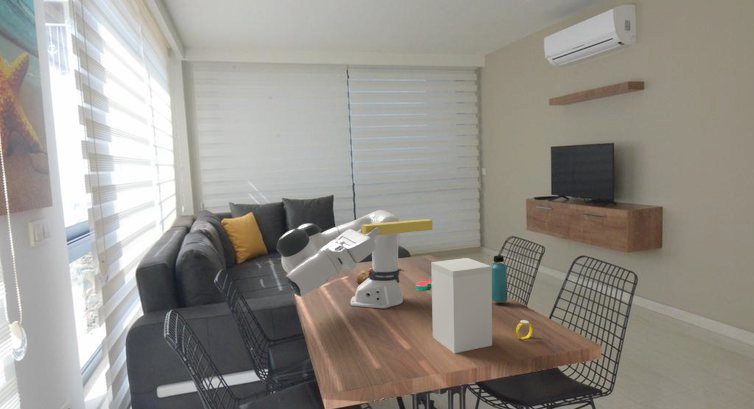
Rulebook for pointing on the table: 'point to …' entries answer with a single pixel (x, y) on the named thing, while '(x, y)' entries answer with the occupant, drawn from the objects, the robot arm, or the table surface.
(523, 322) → the gold ring
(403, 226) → the mustard bar
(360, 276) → the bread roll
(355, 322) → the table surface
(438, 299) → the off-white stand
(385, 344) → the table surface
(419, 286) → the pink curvy flat shape
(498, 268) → the beverage bottle
